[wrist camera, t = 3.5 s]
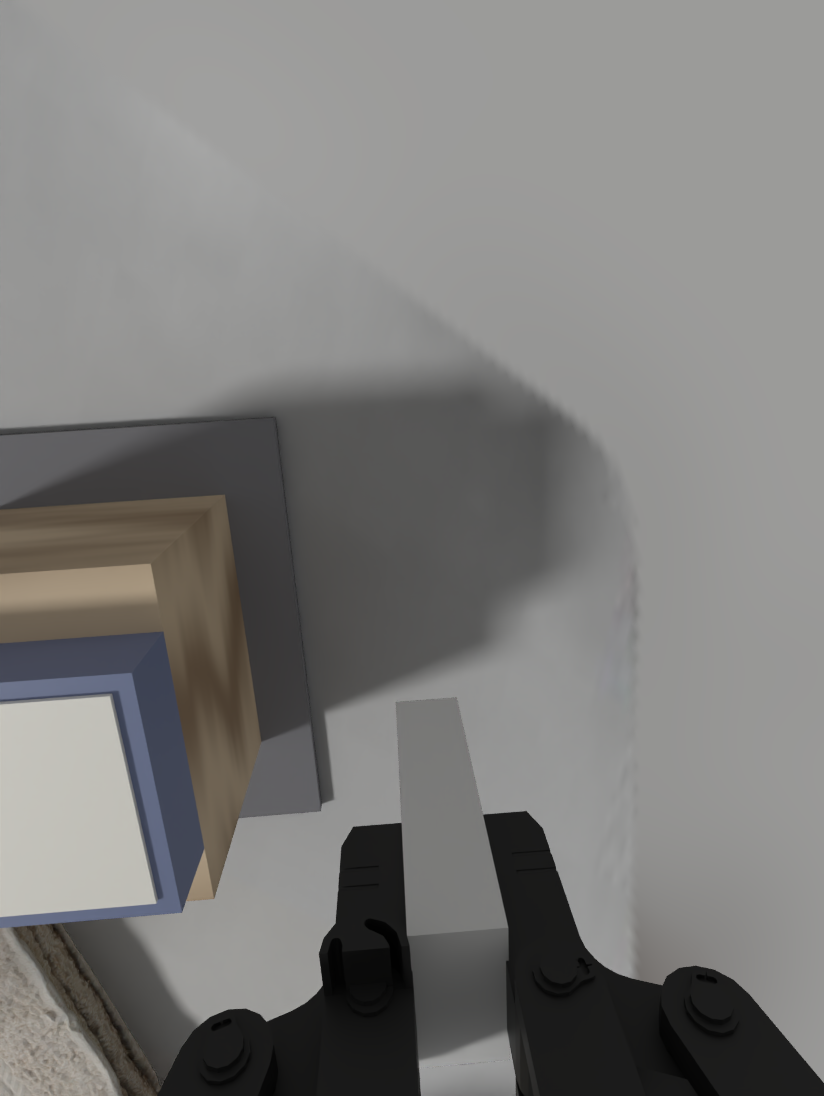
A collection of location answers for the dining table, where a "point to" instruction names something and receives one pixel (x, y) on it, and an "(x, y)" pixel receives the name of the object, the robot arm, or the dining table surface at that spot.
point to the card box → (93, 782)
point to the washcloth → (62, 1023)
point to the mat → (258, 545)
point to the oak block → (150, 625)
